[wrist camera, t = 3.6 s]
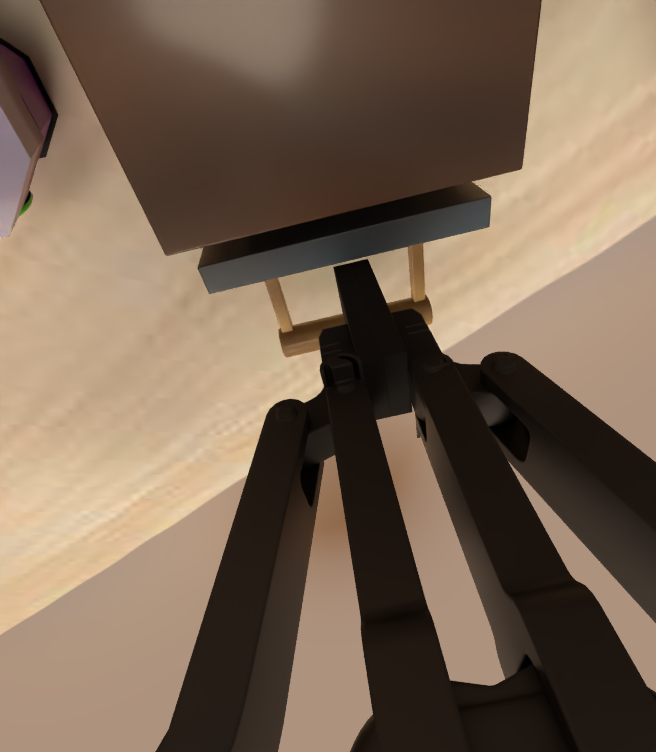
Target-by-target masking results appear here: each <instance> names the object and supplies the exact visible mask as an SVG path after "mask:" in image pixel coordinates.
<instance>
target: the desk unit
mask: <svg viewBox="0 0 656 752" xmlns="http://www.w3.org/2000/svg"><path fill="white" fill-rule="evenodd" d="M39 1H40V3H41V5H42V7H43V9H44V11H45V13H46V15H47V17H48V19H49V21H50V23H51V25H52V27H53V29H54V31H55V33H56V35H57V37H58V39H59V41H60V43H61V45H62V47H63V49H64V51H65V53H66V55H67V57H68V59H69V61H70V63H71V65H72V67H73V69H74V71H75V73H76V75H77V77H78V79H79V81H80V83H81V85H82V87H83V89H84V91H85V93H86V95H87V97H88V99H89V101H90V103H91V105H92V108H93V110H94V112H95V114H96V116H97V118H98V120H99V122H100V124H101V126H102V128H103V130H104V132H105V134H106V136H107V138H108V140H109V142H110V144H111V146H112V148H113V150H114V152H115V154H116V156H117V158H118V160H119V162H120V164H121V166H122V168H123V170H124V172H125V174H126V176H127V178H128V180H129V182H130V184H131V186H132V188H133V190H134V192H135V194H136V196H137V198H138V200H139V202H140V204H141V206H142V208H143V210H144V212H145V214H146V217H147V219H148V221H149V223H150V225H151V227H152V229H153V231H154V233H155V235H156V237H157V239H158V241H159V243H160V245H161V247H162V249H163V251H164V253H165V255H166V256H169V255H173V254H177V253H181V252H185V251H190V250H194V249H198V248H202V247H206V246H210V245H214V244H218V243H222V242H226V241H230V240H235V239H239V238H243V237H247V236H251V235H255V234H259V233H263V232H267V231H271V230H275V229H280V228H284V227H288V226H292V225H296V224H300V223H304V222H308V221H312V220H316V219H320V218H324V217H329V216H333V215H337V214H341V213H345V212H349V211H353V210H357V209H361V208H365V207H369V206H374V205H378V204H382V203H386V202H390V201H394V200H398V199H402V198H406V197H410V196H414V195H419V194H423V193H427V192H431V191H435V190H439V189H443V188H447V187H451V186H455V185H459V184H463V183H468V182H472V181H476V180H480V179H484V178H488V177H492V176H496V175H500V174H504V173H508V172H513V171H517V170H520V169H522V165H523V157H524V148H525V139H526V131H527V122H528V113H529V105H530V96H531V87H532V79H533V70H534V61H535V53H536V44H537V35H538V27H539V18H540V10H541V1H542V0H39Z"/></svg>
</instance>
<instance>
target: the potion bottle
mask: <svg viewBox="0 0 656 752" xmlns="http://www.w3.org/2000/svg"><path fill="white" fill-rule="evenodd" d="M57 117H58V114H57V112H56V110H55V108H54V106H53V104H52V102H51V100H50V98H49V96H48V94H47V92H46V90H45V88H44V86H43V84H42V82H41V80H40V78H39V76H38V74H37V72H36V69H35V67H34V65H33V63H32V61H31V59H30V57H29V56H27V55H26V54H24V53H23V52H21V51H20V50H18V49H17V48H15V47H14V46H12V45H11V44H9V43H8V42H6V41H5V40H3V39H2V38H0V238H2V237H7V236H10V234H11V232H12V229H13V227H14V225H15V223H16V221H17V218H18V217H19V216H20V215H22V214H23V213H24V212H25V211H26V210H27V209H28V208H29V207H30V205H31V203H32V200H33V194H32V193H31V192H30V191H29V189H30V185H31V181H32V178H33V174H34V171H35V167H36V164H37V161H38V159H39V158H43V157H46V155H47V151H48V148H49V144H50V141H51V138H52V134H53V131H54V128H55V124H56V121H57Z"/></svg>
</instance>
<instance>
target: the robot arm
mask: <svg viewBox="0 0 656 752" xmlns="http://www.w3.org/2000/svg"><path fill="white" fill-rule="evenodd" d="M334 272H335V277H336V282H337V287H338V292H339V297H340V302H341V307H342V312H343V316H344V321H345V324H344V325H340V326H335V327H331V328H326V329H322V332H321V334H320V336H319V338H318V339H319V345H320V351H321V358H322V363H321V365H320V373H321V377H322V380H323V384H324V388H323V390H322V391H321V393H320V394H318V395H317V396H316V397H315V398H313V399H311V400H310V401H307V402H305V403H303V402H301V401H299V400H296V399H287V400H283V401H280V402H278V403H276V404H275V405H274V406H273V407H272V408H270V410H269V411H268V413H267V415H266V418H265V422H264V425H263V428H262V431H261V434H260V438H259V441H258V444H257V447H256V450H255V454H254V457H253V460H252V463H251V467H250V470H249V473H248V476H247V479H246V483H245V486H244V489H243V492H242V495H241V499H240V502H239V505H238V508H237V511H236V515H235V518H234V521H233V524H232V528H231V531H230V534H229V537H228V540H227V544H226V547H225V550H224V553H223V556H222V560H221V563H220V566H219V569H218V572H217V576H216V579H215V582H214V586H213V589H212V592H211V595H210V598H209V602H208V605H207V608H206V611H205V614H204V618H203V621H202V624H201V627H200V630H199V634H198V637H197V640H196V643H195V646H194V650H193V653H192V656H191V659H190V662H189V666H188V669H187V672H186V675H185V678H184V682H183V685H182V688H181V692H180V695H179V698H178V701H177V704H176V707H175V711H174V714H173V717H172V720H171V724H170V727H169V729H168V731H167V733H166V735H165V736H164V738H163V740H162V742H161V743H160V745H159V747H158V749H157V750H156V752H278V749H279V744H280V738H281V734H282V729H283V724H284V717H285V711H286V704H287V698H288V692H289V685H290V678H291V672H292V665H293V659H294V653H295V646H296V640H297V634H298V627H299V621H300V615H301V608H302V602H303V595H304V589H305V583H306V576H307V569H308V563H309V557H310V551H311V544H312V538H313V531H314V525H315V519H316V512H317V506H318V499H319V493H320V486H321V480H322V474H323V467H324V460H326V459H328V458H329V457H332V456H333V455H335V456H336V462H337V469H338V475H339V481H340V488H341V494H342V501H343V507H344V513H345V519H346V526H347V532H348V539H349V545H350V551H351V558H352V564H353V570H354V577H355V583H356V589H357V596H358V602H359V609H360V616H361V636H362V644H363V651H364V658H365V665H366V671H367V678H368V684H369V690H370V697H371V704H372V710H373V715H372V716H371V717H370V718H369V719H368V721H367V722H366V723H365V725H364V726H363V728H362V729H361V730H360V732H359V734H358V736H357V738H356V740H355V742H354V744H353V746H352V748H351V751H350V752H656V692H655V691H653V690H651V689H650V688H648V687H647V686H646V684H645V682H644V680H643V679H642V677H641V675H640V673H639V672H638V670H637V668H636V666H635V665H634V663H633V661H632V660H631V658H630V656H629V654H628V653H627V651H626V649H625V647H624V645H623V644H622V642H621V640H620V639H619V637H618V635H617V633H616V631H615V630H614V628H613V626H612V625H611V623H610V621H609V619H608V618H607V616H606V614H605V612H604V611H603V609H602V607H601V605H600V604H599V602H598V601H597V599H596V598H595V596H594V595H593V593H592V592H591V591H590V590H589V589H588V588H587V587H586V586H585V585H583V584H582V583H580V582H577V581H576V580H575V579H574V578H573V577H572V576H571V575H570V573H569V572H568V570H567V568H566V566H565V564H564V563H563V561H562V559H561V557H560V555H559V553H558V552H557V550H556V548H555V546H554V544H553V543H552V541H551V539H550V537H549V535H548V534H547V532H546V530H545V528H544V526H543V524H542V523H541V521H540V519H539V517H538V515H537V513H536V511H535V510H534V508H533V506H532V504H531V502H530V501H529V499H528V497H527V495H526V493H525V491H524V490H523V488H522V486H521V484H520V482H519V481H518V479H517V477H516V475H515V473H514V471H513V470H512V468H511V466H510V464H509V462H510V463H511V464H512V465H513V467H514V468H515V469H516V470H517V471H518V472H519V473H520V474H521V475H522V476H523V478H524V479H525V480H526V481H527V482H528V483H529V484H530V485H531V486H532V487H533V489H534V490H535V491H536V492H537V493H538V494H539V495H540V496H541V497H542V498H543V499H544V501H545V502H546V503H547V504H548V505H549V506H550V507H551V508H552V510H553V511H554V512H555V513H556V514H557V515H558V516H559V517H560V518H561V519H562V520H563V522H564V523H565V524H566V525H567V526H568V527H569V528H570V529H571V530H572V531H573V533H574V534H575V535H576V536H577V537H578V538H579V539H580V540H581V541H582V543H583V544H584V545H585V546H586V547H587V548H588V549H589V550H590V551H591V552H592V554H593V555H594V556H595V557H596V558H597V559H598V560H599V561H600V562H601V563H602V564H603V565H604V567H605V568H606V569H607V570H608V571H609V572H610V573H611V574H612V576H613V577H614V578H615V579H616V580H617V581H618V582H619V583H620V584H621V585H622V586H623V588H624V589H625V590H626V591H627V592H628V593H629V594H630V595H631V596H632V598H633V599H634V600H635V601H636V602H637V603H638V604H639V605H640V606H641V607H642V609H643V610H644V611H645V612H646V613H647V614H648V615H649V616H650V617H651V618H652V620H653V621H654V622H655V623H656V462H655V461H653V460H652V459H651V458H650V457H648V456H647V455H646V454H644V453H643V452H642V451H641V450H639V449H638V448H637V447H636V446H634V445H633V444H632V443H631V442H629V441H628V440H626V439H625V438H624V437H623V436H621V435H620V434H619V433H618V432H617V431H615V430H614V429H613V428H611V427H610V426H609V425H608V424H606V423H605V422H604V421H603V420H601V419H600V418H599V417H597V416H596V415H595V414H593V413H592V412H591V411H589V410H588V409H587V408H586V407H584V406H583V405H582V404H581V403H580V402H578V401H577V400H576V399H574V398H573V397H572V396H571V395H569V394H568V393H567V392H566V391H564V390H563V389H562V388H560V387H559V386H558V385H557V384H555V383H554V382H553V381H552V380H550V379H549V378H548V377H546V376H545V375H544V374H543V373H541V372H540V371H539V370H537V369H536V368H535V367H534V366H532V365H531V364H530V363H529V362H527V361H526V360H525V359H523V358H522V357H520V356H518V355H517V354H514V353H510V352H495V353H491V354H489V355H487V356H486V357H484V358H483V360H482V361H481V364H459V363H456V362H453V360H452V359H451V358H450V357H449V356H447V355H445V354H443V353H442V352H441V350H440V348H439V346H438V344H437V343H436V341H435V339H434V337H433V335H432V333H431V331H430V330H429V328H428V326H427V324H426V322H425V320H424V318H423V316H422V314H421V313H419V312H417V311H416V310H414V309H413V308H410V309H406V310H401V311H397V312H392V313H391V312H390V310H389V308H388V305H387V303H386V301H385V298H384V296H383V294H382V291H381V289H380V287H379V284H378V282H377V280H376V277H375V275H374V273H373V270H372V268H371V266H370V263H369V261H368V259H366V260H361V261H357V262H353V263H349V264H344V265H340V266H336V267H334ZM412 406H413V408H414V411H415V416H416V429H417V438H420V435H421V438H422V441H423V444H424V446H425V448H426V452H427V454H428V457H429V460H430V463H431V465H432V468H433V471H434V473H435V476H436V479H437V482H438V484H439V487H440V489H441V492H442V495H443V498H444V501H445V503H446V506H447V509H448V511H449V514H450V517H451V520H452V522H453V525H454V528H455V530H456V533H457V536H458V539H459V542H460V544H461V547H462V550H463V552H464V555H465V558H466V560H467V563H468V566H469V569H470V572H471V574H472V577H473V579H474V582H475V585H476V588H477V590H478V593H479V596H480V599H481V601H482V604H483V607H484V609H485V612H486V615H487V618H488V621H489V623H490V626H491V629H492V632H493V635H494V639H495V644H496V649H497V654H498V657H499V661H500V664H501V667H502V670H503V673H504V676H505V680H503V681H502V682H500V683H498V684H496V685H492V686H487V685H480V684H471V683H464V682H457V681H450V679H449V675H448V672H447V669H446V665H445V661H444V657H443V654H442V650H441V647H440V643H439V640H438V636H437V633H436V629H435V626H434V622H433V620H432V616H431V614H430V612H429V609H428V606H427V604H426V600H425V597H424V593H423V590H422V586H421V582H420V578H419V575H418V571H417V567H416V564H415V560H414V557H413V553H412V549H411V546H410V542H409V538H408V535H407V531H406V527H405V524H404V520H403V517H402V513H401V509H400V506H399V502H398V498H397V495H396V491H395V488H394V484H393V480H392V477H391V473H390V469H389V466H388V462H387V459H386V455H385V451H384V448H383V444H382V440H381V437H380V433H379V429H378V426H377V422H376V420H377V419H382V418H387V417H391V416H396V415H400V414H405V413H410V412H412ZM508 461H509V462H508Z"/></svg>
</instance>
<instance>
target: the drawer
mask: <svg viewBox="0 0 656 752" xmlns="http://www.w3.org/2000/svg"><path fill="white" fill-rule="evenodd" d="M490 210H491V196H490V195H489V194H488V193H486V192H485V191H483V190H482V189H481V188H479V187H478V186H477V185H475V184H474V183H473V182H468V183H463V184H459V185H455V186H451V187H447V188H443V189H439V190H435V191H431V192H427V193H423V194H419V195H414V196H410V197H406V198H402V199H398V200H394V201H390V202H386V203H382V204H378V205H374V206H369V207H365V208H361V209H357V210H353V211H349V212H345V213H341V214H337V215H333V216H329V217H324V218H320V219H316V220H312V221H308V222H304V223H300V224H296V225H292V226H288V227H284V228H280V229H275V230H271V231H267V232H263V233H259V234H255V235H251V236H247V237H243V238H239V239H235V240H230V241H226V242H222V243H218V244H214V245H210V246H206V247H203V250H202V254H201V258H200V261H199V265H198V270H199V272H200V274H201V277H202V279H203V281H204V283H205V286H206V288H207V290H208V292H209V294H212V293H216V292H220V291H224V290H228V289H233V288H237V287H241V286H245V285H249V284H253V283H258V282H262V281H265V283H266V286H267V289H268V292H269V295H270V298H271V301H272V304H273V307H274V310H275V313H276V316H277V319H278V322H279V325H280V329H279V339H280V343H281V347H282V350H283V353H284V355H285V357H291V356H295V355H299V354H303V353H308V352H312V351H316V350H320V345H319V339H318V338H319V336H320V334H321V332H322V329H326V328H331V327H335V326H340V325H344V324H345V321H344V316H343V314H339V315H335V316H331V317H326V318H322V319H318V320H314V321H309V322H305V323H301V324H296V325H293V324H292V321H291V318H290V315H289V311H288V308H287V305H286V302H285V298H284V295H283V292H282V289H281V285H280V282H279V279H278V278H279V277H283V276H287V275H291V274H295V273H299V272H304V271H308V270H312V269H316V268H320V267H324V266H329V265H333V264H337V263H341V262H345V261H349V260H354V259H358V258H362V257H366V256H370V255H375V254H379V253H383V252H387V251H391V250H395V249H400V248H404V247H408V255H409V270H410V285H411V297H412V298H407V299H403V300H399V301H395V302H390V303H387V305H388V308H389V310H390V312H391V313H392V312H397V311H401V310H406V309H410V308H413V309H414V310H416V311H417V312H419V313H421V314H422V316H423V318H424V320H425V322H426V324H427V325H429V324H431V323H432V318H433V317H432V309H431V304H430V301H429V299H428V297H427V295H425V282H424V258H423V243H425V242H429V241H433V240H437V239H441V238H445V237H450V236H454V235H458V234H462V233H466V232H471V231H475V230H479V229H483V228H487V227H489V224H490Z"/></svg>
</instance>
